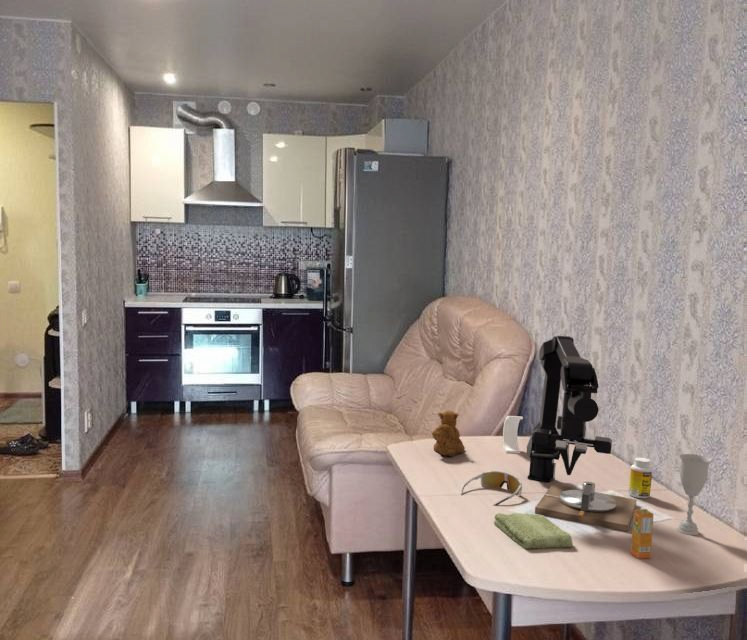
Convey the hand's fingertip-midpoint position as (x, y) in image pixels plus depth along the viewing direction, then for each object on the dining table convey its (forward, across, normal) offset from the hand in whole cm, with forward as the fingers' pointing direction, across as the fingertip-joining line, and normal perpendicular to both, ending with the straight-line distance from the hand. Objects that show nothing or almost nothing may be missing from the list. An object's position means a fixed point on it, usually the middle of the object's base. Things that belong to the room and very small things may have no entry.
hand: (568, 474), depth 185 cm
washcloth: (+11, +6, +17) cm, 21 cm away
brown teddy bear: (+10, +40, -41) cm, 58 cm away
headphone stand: (+10, +22, -55) cm, 60 cm away
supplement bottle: (+10, -17, -27) cm, 34 cm away
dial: (+9, -5, -6) cm, 12 cm away
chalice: (+10, -28, -4) cm, 31 cm away
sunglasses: (+11, +20, -7) cm, 23 cm away
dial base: (+10, -5, -8) cm, 14 cm away
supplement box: (+11, -18, +18) cm, 28 cm away
